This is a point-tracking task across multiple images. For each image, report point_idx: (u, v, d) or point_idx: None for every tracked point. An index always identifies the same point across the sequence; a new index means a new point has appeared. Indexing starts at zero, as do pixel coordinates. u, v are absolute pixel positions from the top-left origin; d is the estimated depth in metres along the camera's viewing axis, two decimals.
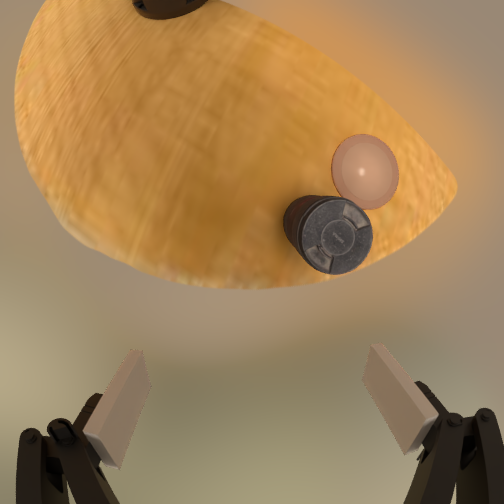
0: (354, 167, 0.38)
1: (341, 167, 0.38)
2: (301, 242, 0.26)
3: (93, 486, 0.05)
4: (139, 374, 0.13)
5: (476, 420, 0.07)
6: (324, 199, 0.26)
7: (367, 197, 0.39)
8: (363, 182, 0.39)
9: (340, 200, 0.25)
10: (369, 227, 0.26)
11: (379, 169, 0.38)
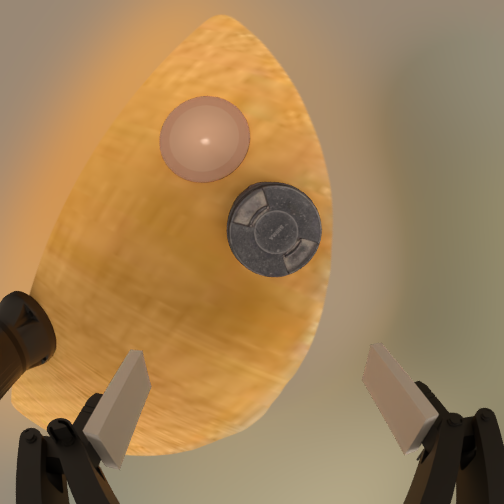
0: (199, 155, 0.33)
1: (199, 172, 0.34)
2: (277, 276, 0.23)
3: (93, 486, 0.05)
4: (139, 374, 0.13)
5: (476, 420, 0.07)
6: (229, 244, 0.23)
7: (235, 138, 0.33)
8: (216, 144, 0.33)
9: (230, 230, 0.22)
10: (265, 190, 0.21)
11: (200, 121, 0.32)
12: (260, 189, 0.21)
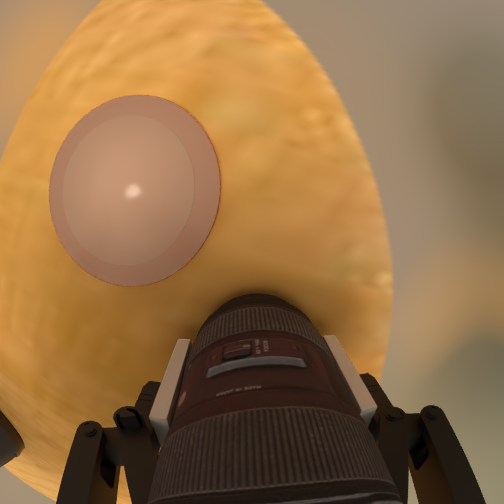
0: (116, 230, 0.15)
1: (123, 265, 0.16)
2: None
3: (152, 476, 0.06)
4: None
5: (422, 420, 0.08)
6: None
7: (186, 185, 0.15)
8: (148, 202, 0.15)
9: None
10: None
11: (113, 155, 0.14)
12: None
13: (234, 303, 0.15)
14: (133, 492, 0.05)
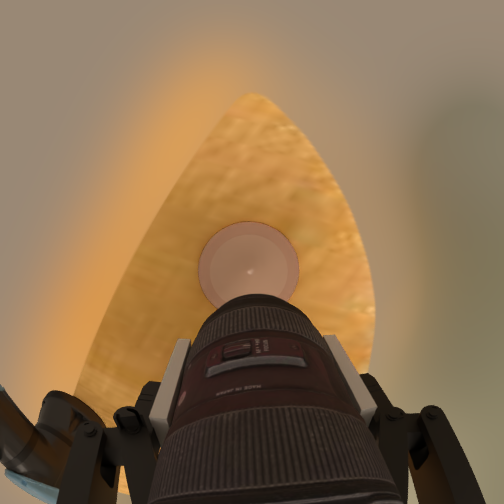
0: (245, 292, 0.33)
1: None
2: None
3: (152, 476, 0.06)
4: None
5: (422, 420, 0.08)
6: None
7: (283, 272, 0.32)
8: (263, 279, 0.33)
9: None
10: None
11: (244, 255, 0.32)
12: None
13: (234, 303, 0.15)
14: (133, 492, 0.05)
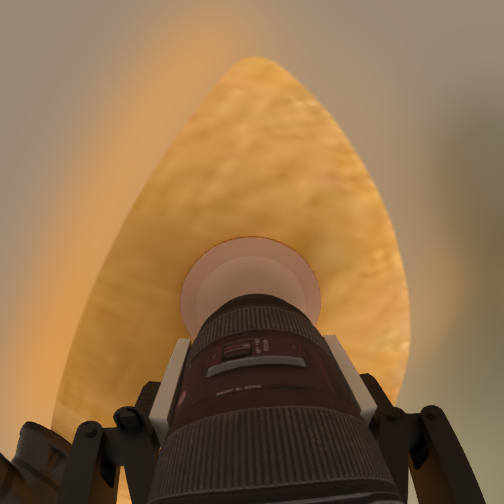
0: None
1: None
2: None
3: (152, 476, 0.06)
4: None
5: (422, 420, 0.08)
6: None
7: (299, 307, 0.23)
8: None
9: None
10: None
11: (244, 284, 0.22)
12: None
13: (234, 303, 0.15)
14: (133, 492, 0.05)
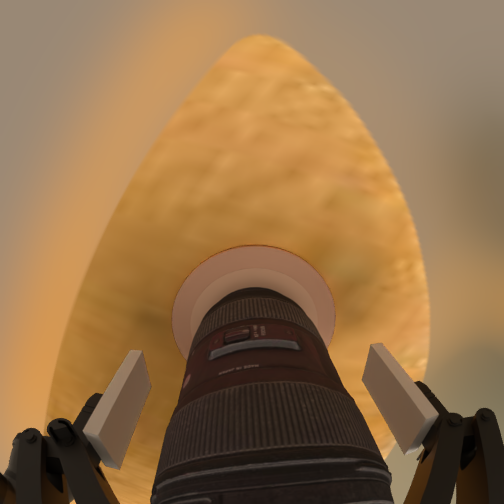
0: None
1: None
2: None
3: (93, 486, 0.05)
4: (139, 374, 0.13)
5: (476, 420, 0.07)
6: None
7: None
8: None
9: None
10: None
11: None
12: None
13: (234, 295, 0.16)
14: (80, 503, 0.04)
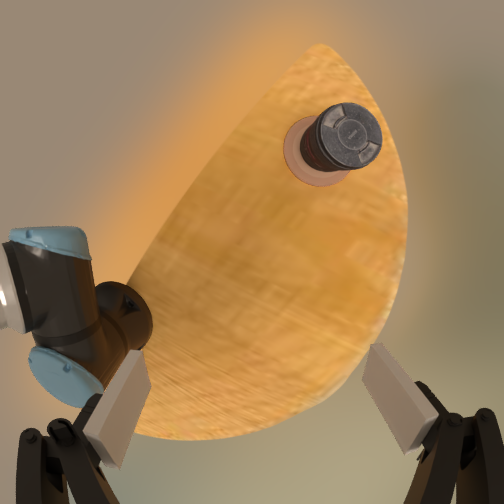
0: None
1: (317, 177, 0.42)
2: (354, 167, 0.28)
3: (93, 486, 0.05)
4: (139, 374, 0.13)
5: (476, 420, 0.07)
6: (318, 142, 0.28)
7: None
8: None
9: (321, 129, 0.27)
10: (344, 105, 0.26)
11: None
12: (340, 104, 0.26)
13: None
14: (80, 503, 0.04)
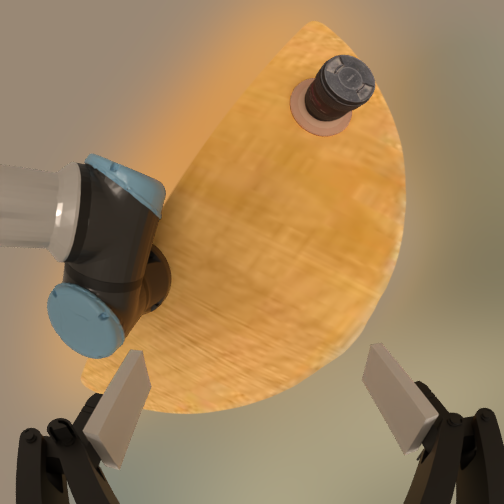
0: None
1: (322, 128, 0.45)
2: (355, 103, 0.31)
3: (93, 486, 0.05)
4: (139, 374, 0.13)
5: (476, 420, 0.07)
6: (323, 84, 0.31)
7: None
8: None
9: (325, 73, 0.29)
10: (341, 56, 0.28)
11: None
12: (338, 56, 0.28)
13: None
14: (80, 503, 0.04)
